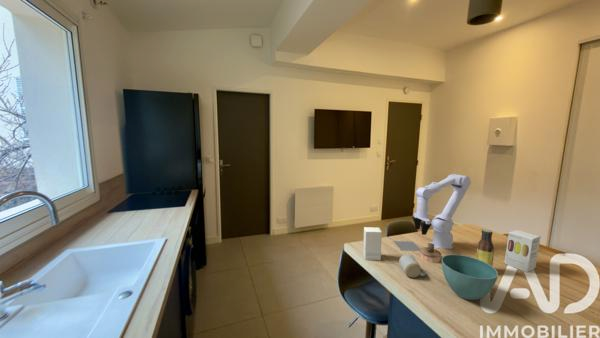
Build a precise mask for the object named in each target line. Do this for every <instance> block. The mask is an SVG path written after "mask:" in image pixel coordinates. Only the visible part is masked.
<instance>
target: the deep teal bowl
mask: <svg viewBox="0 0 600 338" xmlns="http://www.w3.org/2000/svg"><path fill="white" fill-rule="evenodd" d="M441 268H442V273H443V275H444V276H443V277H444V278H445V281H446V282H447V284H448V287H450V289H451V290H452V292H453V293H454V294H455V295H456V296H458V297H460V298H462V299H465V300H469V301H477V300H480V299H481V298H484V297H485V296H486V295H488V294H489V293H490V292H491V290H493V288H494V286H495V285H496V283H497V280H498V276H499V273H498V271H497V269H496V268H494V267H493V266H490V265H489V264H487V263H485V262H483V261H481V260H478V259H476V258H474V257H471V256H468V255H461V254H445V255H444V256H441Z"/></svg>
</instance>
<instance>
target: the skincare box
mask: <svg viewBox="0 0 600 338" xmlns="http://www.w3.org/2000/svg"><path fill="white" fill-rule="evenodd" d="M382 234H383V232H382V230H381V228H380V227H376V226H375V227H373V226H372V227H371V226H369V227H368V226H367V227H366V226H364V227H363V246H362V254H363V258H364V260H366V261H368V260H370V261H381V260H382V236H383V235H382Z"/></svg>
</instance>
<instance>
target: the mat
mask: <svg viewBox="0 0 600 338" xmlns="http://www.w3.org/2000/svg"><path fill="white" fill-rule="evenodd" d="M392 242H393V243H394V244H395V245H396V246H397V247H398V249H399V250H400V251H403V252H404V251H407V252H408V251H409V252H412V251H414V252H420V249H421V247H419V246H418V245H417V244H416V243H415V242H414V241H405V240H404V241H401V240H397V241H396V240H395V241H392Z"/></svg>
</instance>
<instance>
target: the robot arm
mask: <svg viewBox="0 0 600 338" xmlns="http://www.w3.org/2000/svg"><path fill="white" fill-rule="evenodd" d="M471 184H472V182H471V178H470V176H468V175H461V174H457V173H456V174H455V173H451V174H449V175H447V177H446V178H444V179H442V180H440V181H439V182H436V181H432V182H431V183H430V184H427V185H425V186H424V187H421V186H420V187H418V188H417V189H416V191H415V196H416V200H417V202H416V211H415V212H413V216H412V218H411V219H412V220H413V223H414V229H415V230H420V229H421V235H422V236H427V233H428V231H429V229H430V228H431V227H432V230H433V236H432V241H429V243H432V244H434V248H435V249H445V250H446V249H449V250H450V249H451V250H452V249H453V241H454V237H453V233H452V232H451V231H452V230H453V226H454V225H455V224H454V221H453V220H452V218H453V216H454V214H455V213H456V212H457V210H458V207H459V206H460V204H461V202H462V200H463V198H464V196H465V195H466V193H467V191H468V189H469V188H470V186H471ZM447 186H448V187H449V186H451V188H452V189H453V192H452V195H451V196H450V198H449V200H448V202H447V203H446V205H445V206H444V208H443V210H442V212H441V213H439V214H436V215H435V217H434V218H433V219H432V220H430V218H429V217H428V216H429V214H428V213H429V205H430V199H432V197H433V195H435V194H437V193H440V192H441V191H442V189H443V188H446V187H447Z"/></svg>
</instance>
